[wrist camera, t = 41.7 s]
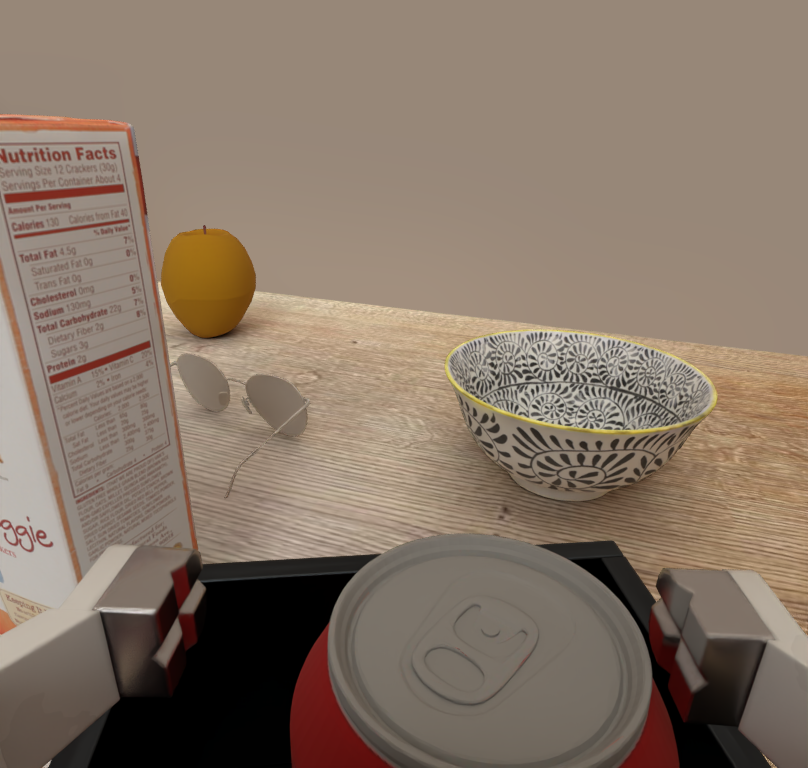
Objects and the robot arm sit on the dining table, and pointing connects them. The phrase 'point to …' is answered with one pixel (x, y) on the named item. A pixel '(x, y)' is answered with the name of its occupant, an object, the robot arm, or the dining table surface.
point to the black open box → (284, 658)
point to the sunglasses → (264, 391)
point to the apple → (208, 281)
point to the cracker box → (80, 363)
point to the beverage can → (478, 666)
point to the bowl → (576, 407)
